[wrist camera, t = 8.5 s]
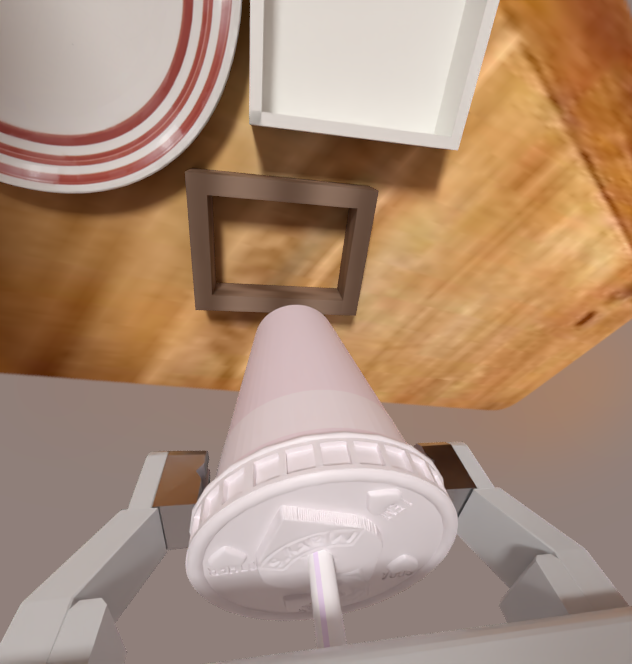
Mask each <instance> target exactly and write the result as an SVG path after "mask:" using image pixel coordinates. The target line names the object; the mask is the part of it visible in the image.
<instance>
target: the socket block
mask: <svg viewBox="0 0 632 664" xmlns="http://www.w3.org/2000/svg"><path fill="white" fill-rule="evenodd" d="M185 182H186V194H187V207H188V220H189V232H190V245H191V258H192V270H193V283H194V296H195V308H196V310H215V311H243V312H272V311H274V310H276V309H278V308H281V307H284V306H288V305H304V306H308V307H311V308H314V309H316V310H317V311H319V312H320V313H322V314H327V315H355V316H356V311H357V306H358V300H359V295H360V289H361V284H362V279H363V273H364V268H365V262H366V257H367V251H368V246H369V241H370V235H371V230H372V224H373V219H374V213H375V208H376V202H377V197H378V192H379V191H378V190H376V189H374V188H372V187H370V186H364V185H354V184H344V183H334V182H325V181H315V180H305V179H295V178H285V177H276V176H266V175H256V174H246V173H236V172H226V171H217V170H207V169H197V168H191V169H189V170H187V171H185ZM212 196H223V197H234V198H246V199H257V200H268V201H279V202H290V203H301V204H312V205H323V206H335V207H346V208H349V212H348V219H347V225H346V232H345V239H344V246H343V253H342V259H341V266H340V273H339V280H338V287H337V289H336V288H316V287H295V286H275V285H254V284H234V283H216V267H215V244H214V221H213V198H212Z"/></svg>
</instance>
